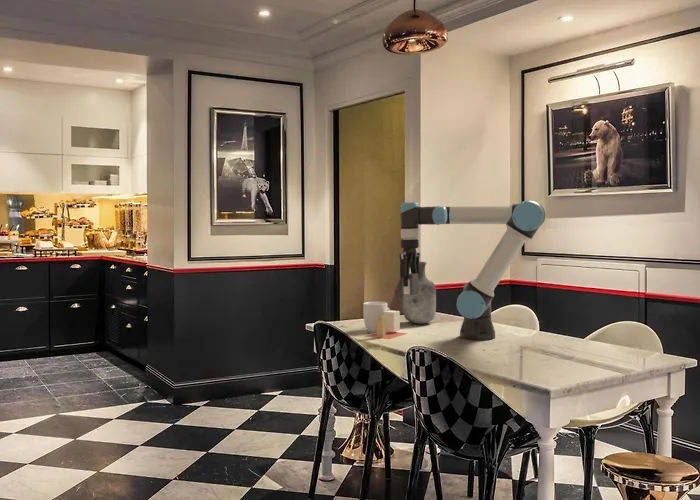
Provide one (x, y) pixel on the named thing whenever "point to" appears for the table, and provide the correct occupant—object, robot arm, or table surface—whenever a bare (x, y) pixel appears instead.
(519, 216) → the robot arm
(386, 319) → the stand
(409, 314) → the vase
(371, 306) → the mug
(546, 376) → the table surface
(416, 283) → the dark gray block
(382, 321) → the post
